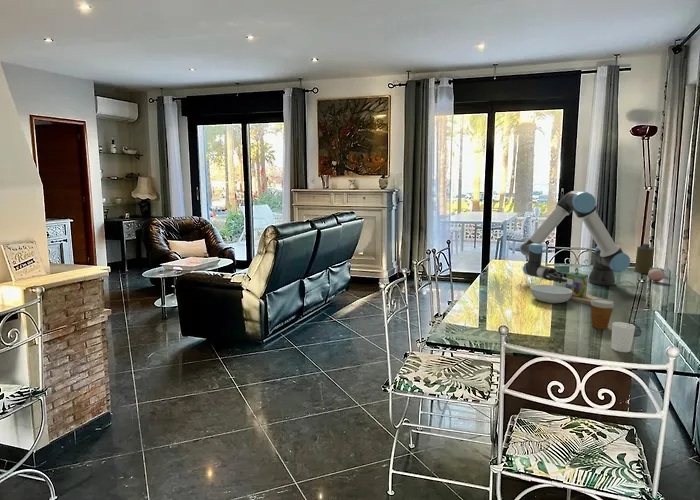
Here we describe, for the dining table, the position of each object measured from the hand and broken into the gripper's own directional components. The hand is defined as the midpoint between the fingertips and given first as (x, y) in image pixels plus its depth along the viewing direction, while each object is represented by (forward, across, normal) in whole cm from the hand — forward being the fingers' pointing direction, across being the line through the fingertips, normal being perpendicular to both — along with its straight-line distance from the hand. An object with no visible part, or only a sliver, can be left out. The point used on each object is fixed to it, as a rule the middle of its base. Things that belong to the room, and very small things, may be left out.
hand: (580, 281), depth 274 cm
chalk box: (-2, 0, -8) cm, 8 cm away
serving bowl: (-2, +19, -10) cm, 22 cm away
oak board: (0, -1, -10) cm, 10 cm away
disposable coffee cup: (+38, +35, -10) cm, 52 cm away
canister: (-31, -108, -10) cm, 113 cm away
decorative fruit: (-7, -85, -10) cm, 85 cm away
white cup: (+60, +54, -10) cm, 81 cm away
